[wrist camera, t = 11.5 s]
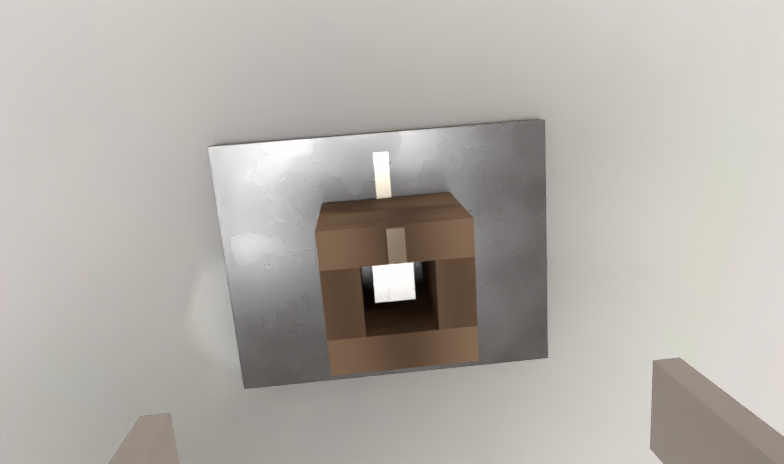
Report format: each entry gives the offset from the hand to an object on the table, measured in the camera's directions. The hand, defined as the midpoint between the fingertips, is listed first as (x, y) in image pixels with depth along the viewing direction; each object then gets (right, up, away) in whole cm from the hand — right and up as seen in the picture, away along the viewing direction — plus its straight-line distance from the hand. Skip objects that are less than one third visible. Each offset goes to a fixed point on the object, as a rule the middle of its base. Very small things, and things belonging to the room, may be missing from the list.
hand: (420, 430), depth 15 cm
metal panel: (-1, +4, +17) cm, 18 cm away
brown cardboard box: (-1, +4, +16) cm, 17 cm away
